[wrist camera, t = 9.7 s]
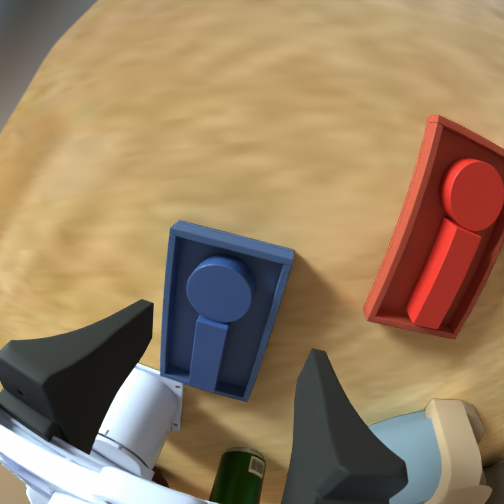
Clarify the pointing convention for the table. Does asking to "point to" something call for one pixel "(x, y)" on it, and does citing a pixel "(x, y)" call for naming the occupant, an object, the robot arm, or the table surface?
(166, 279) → the blue tray
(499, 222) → the red tray
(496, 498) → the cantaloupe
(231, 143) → the table surface
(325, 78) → the table surface
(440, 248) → the red spoon
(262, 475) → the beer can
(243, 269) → the blue spoon
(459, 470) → the alarm clock
